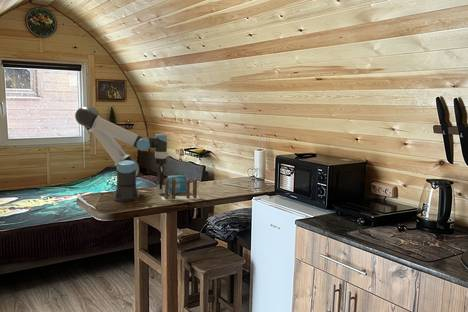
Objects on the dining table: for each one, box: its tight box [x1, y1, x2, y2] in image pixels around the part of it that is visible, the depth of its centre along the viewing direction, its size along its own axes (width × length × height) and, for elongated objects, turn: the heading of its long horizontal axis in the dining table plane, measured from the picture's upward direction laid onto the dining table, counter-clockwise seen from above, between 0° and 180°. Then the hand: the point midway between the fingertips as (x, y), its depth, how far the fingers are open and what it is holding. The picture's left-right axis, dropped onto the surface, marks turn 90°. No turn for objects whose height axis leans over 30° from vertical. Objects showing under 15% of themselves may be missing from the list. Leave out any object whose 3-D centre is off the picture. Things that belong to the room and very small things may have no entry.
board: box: [160, 195, 201, 201], centre depth 268 cm, size 24×10×1 cm, turn 106°
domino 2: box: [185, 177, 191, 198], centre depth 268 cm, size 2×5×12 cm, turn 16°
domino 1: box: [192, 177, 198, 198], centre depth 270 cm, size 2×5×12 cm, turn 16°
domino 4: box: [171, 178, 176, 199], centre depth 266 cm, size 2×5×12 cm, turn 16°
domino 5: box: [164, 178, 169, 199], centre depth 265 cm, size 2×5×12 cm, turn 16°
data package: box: [166, 174, 187, 194], centre depth 284 cm, size 12×4×12 cm, turn 119°
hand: (160, 192), depth 279 cm, fingers closed on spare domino, 5 cm apart
